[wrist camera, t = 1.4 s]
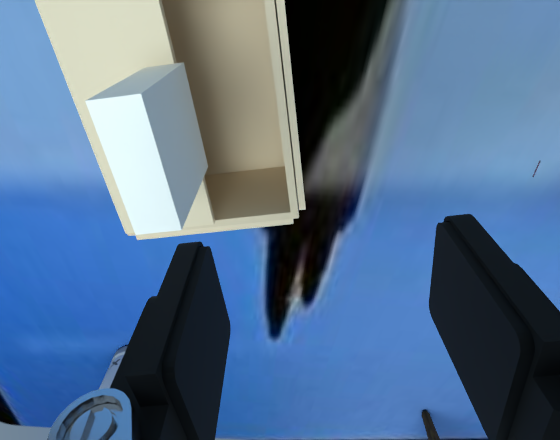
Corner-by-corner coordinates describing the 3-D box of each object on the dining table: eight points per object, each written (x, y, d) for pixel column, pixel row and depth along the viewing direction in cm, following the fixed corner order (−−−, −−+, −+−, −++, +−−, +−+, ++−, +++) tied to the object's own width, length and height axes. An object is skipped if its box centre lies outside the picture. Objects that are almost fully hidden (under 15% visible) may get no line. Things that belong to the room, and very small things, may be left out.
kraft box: (277, -56, 30) (276, -75, 21) (301, 173, 39) (307, 224, 31) (95, -28, 31) (23, -35, 22) (162, 189, 40) (131, 242, 32)
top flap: (164, -29, 22) (100, -40, 14) (222, 219, 30) (202, 298, 23) (36, -10, 22) (-95, -10, 15) (128, 229, 31) (76, 310, 23)
